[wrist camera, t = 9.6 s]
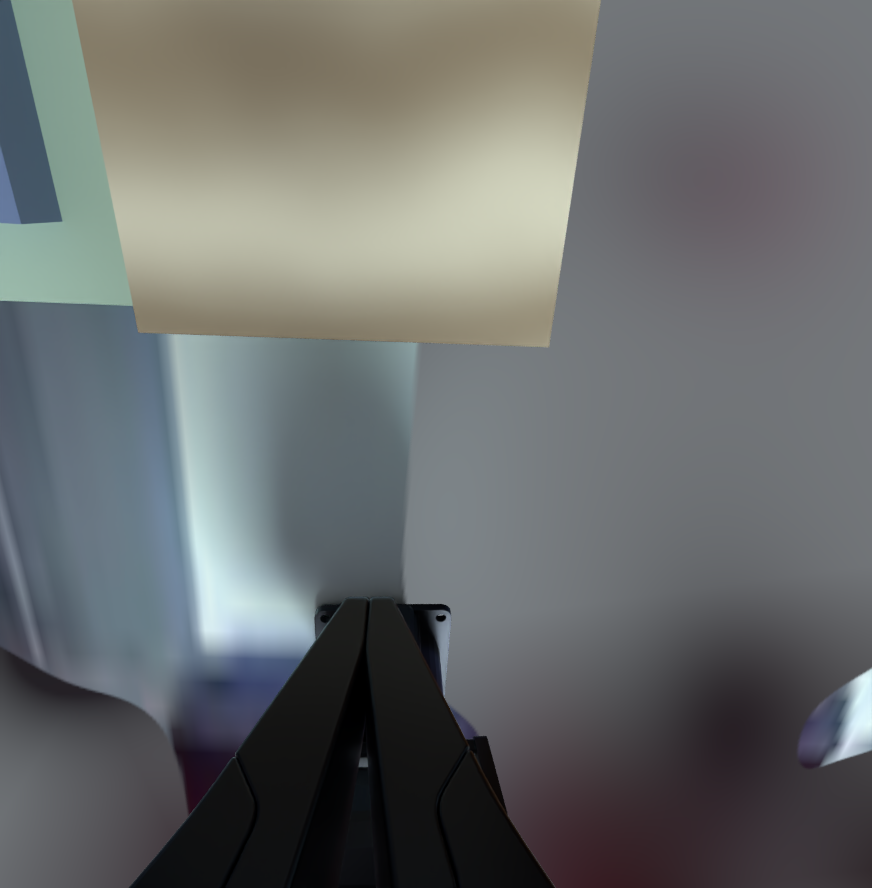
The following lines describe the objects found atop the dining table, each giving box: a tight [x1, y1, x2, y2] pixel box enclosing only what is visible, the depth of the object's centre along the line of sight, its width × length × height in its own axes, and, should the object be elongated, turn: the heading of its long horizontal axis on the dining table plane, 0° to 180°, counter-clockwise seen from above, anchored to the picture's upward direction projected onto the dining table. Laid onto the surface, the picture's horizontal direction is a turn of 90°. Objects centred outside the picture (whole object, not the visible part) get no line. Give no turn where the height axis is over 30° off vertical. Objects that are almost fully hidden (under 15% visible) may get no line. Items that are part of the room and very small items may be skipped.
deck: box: [72, 0, 601, 347], centre depth 14 cm, size 13×12×4 cm
